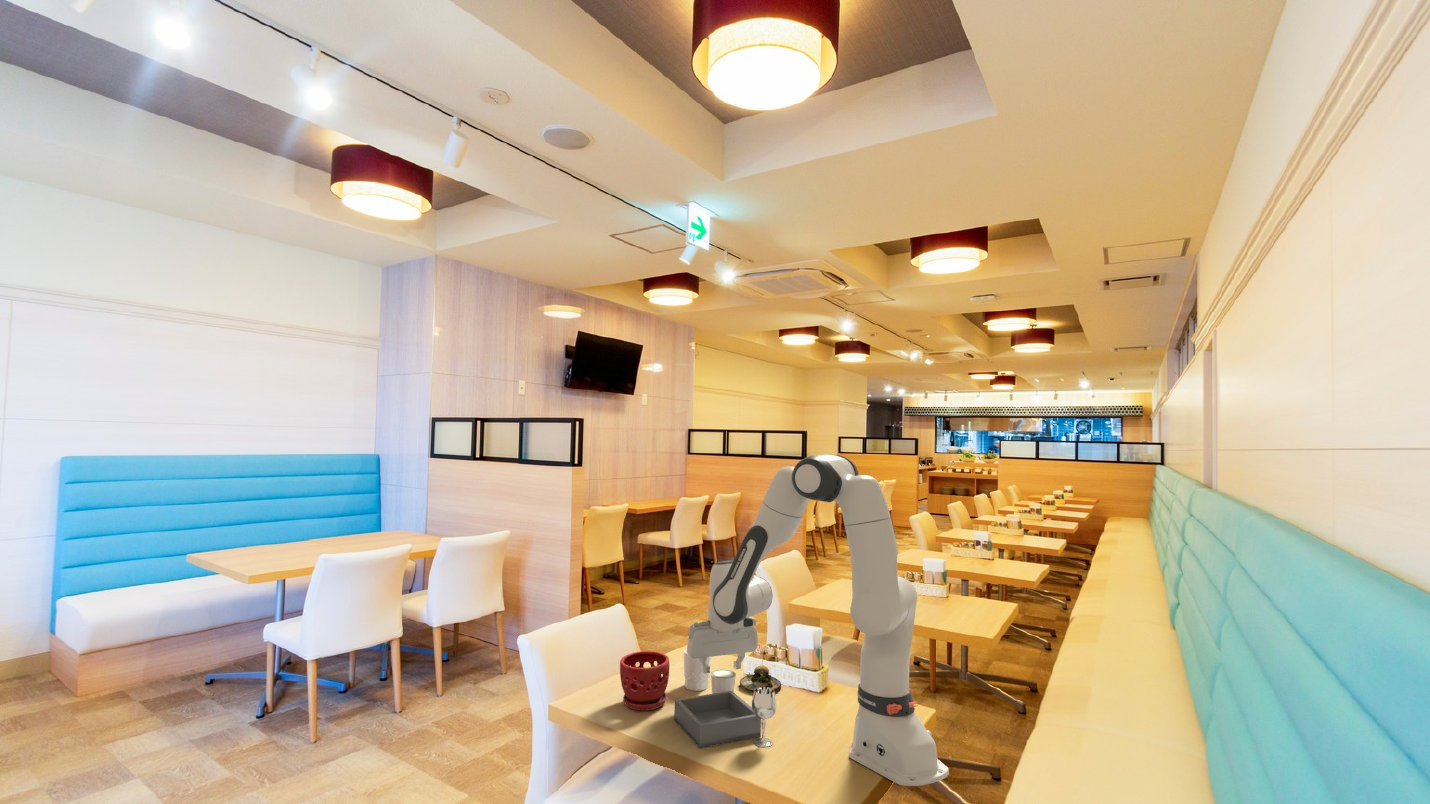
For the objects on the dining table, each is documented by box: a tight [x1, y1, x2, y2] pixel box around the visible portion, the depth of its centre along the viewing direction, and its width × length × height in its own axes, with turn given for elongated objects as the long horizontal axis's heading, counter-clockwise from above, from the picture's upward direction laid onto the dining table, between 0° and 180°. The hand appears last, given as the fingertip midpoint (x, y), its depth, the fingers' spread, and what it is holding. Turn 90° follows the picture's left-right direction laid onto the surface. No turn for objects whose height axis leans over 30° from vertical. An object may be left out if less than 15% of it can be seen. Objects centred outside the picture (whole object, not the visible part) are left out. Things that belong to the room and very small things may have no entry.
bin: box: [673, 691, 762, 749], centre depth 160 cm, size 16×16×5 cm
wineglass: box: [751, 687, 777, 748], centre depth 153 cm, size 6×6×12 cm
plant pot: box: [619, 650, 670, 711], centre depth 173 cm, size 13×13×12 cm
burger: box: [739, 659, 782, 692], centre depth 187 cm, size 12×12×8 cm
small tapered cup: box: [710, 668, 737, 694], centre depth 177 cm, size 7×7×7 cm
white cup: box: [683, 647, 712, 692], centre depth 186 cm, size 8×8×10 cm
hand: (721, 670), depth 178 cm, fingers open, 8 cm apart
